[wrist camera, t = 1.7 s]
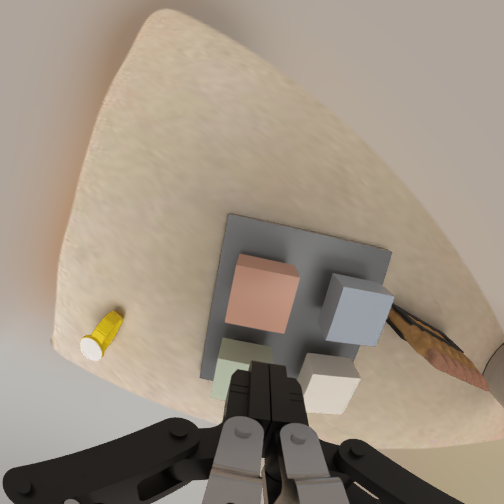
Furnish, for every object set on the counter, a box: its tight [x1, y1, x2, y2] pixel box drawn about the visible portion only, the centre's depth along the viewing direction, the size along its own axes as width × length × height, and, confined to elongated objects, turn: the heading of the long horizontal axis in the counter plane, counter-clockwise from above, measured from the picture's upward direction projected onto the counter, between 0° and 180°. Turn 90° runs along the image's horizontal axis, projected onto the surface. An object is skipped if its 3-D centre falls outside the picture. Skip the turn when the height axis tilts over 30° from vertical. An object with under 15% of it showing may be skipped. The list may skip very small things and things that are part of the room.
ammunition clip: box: [386, 303, 489, 391], centre depth 23 cm, size 11×2×12 cm, turn 62°
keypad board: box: [200, 213, 392, 381], centre depth 26 cm, size 16×18×4 cm
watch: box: [80, 311, 123, 361], centre depth 26 cm, size 6×3×6 cm, turn 144°
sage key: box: [210, 338, 273, 401], centre depth 24 cm, size 5×5×4 cm
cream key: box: [297, 353, 361, 414], centre depth 24 cm, size 5×5×4 cm
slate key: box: [318, 273, 395, 346], centre depth 22 cm, size 5×5×4 cm
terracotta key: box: [225, 254, 300, 334], centre depth 22 cm, size 5×5×4 cm
